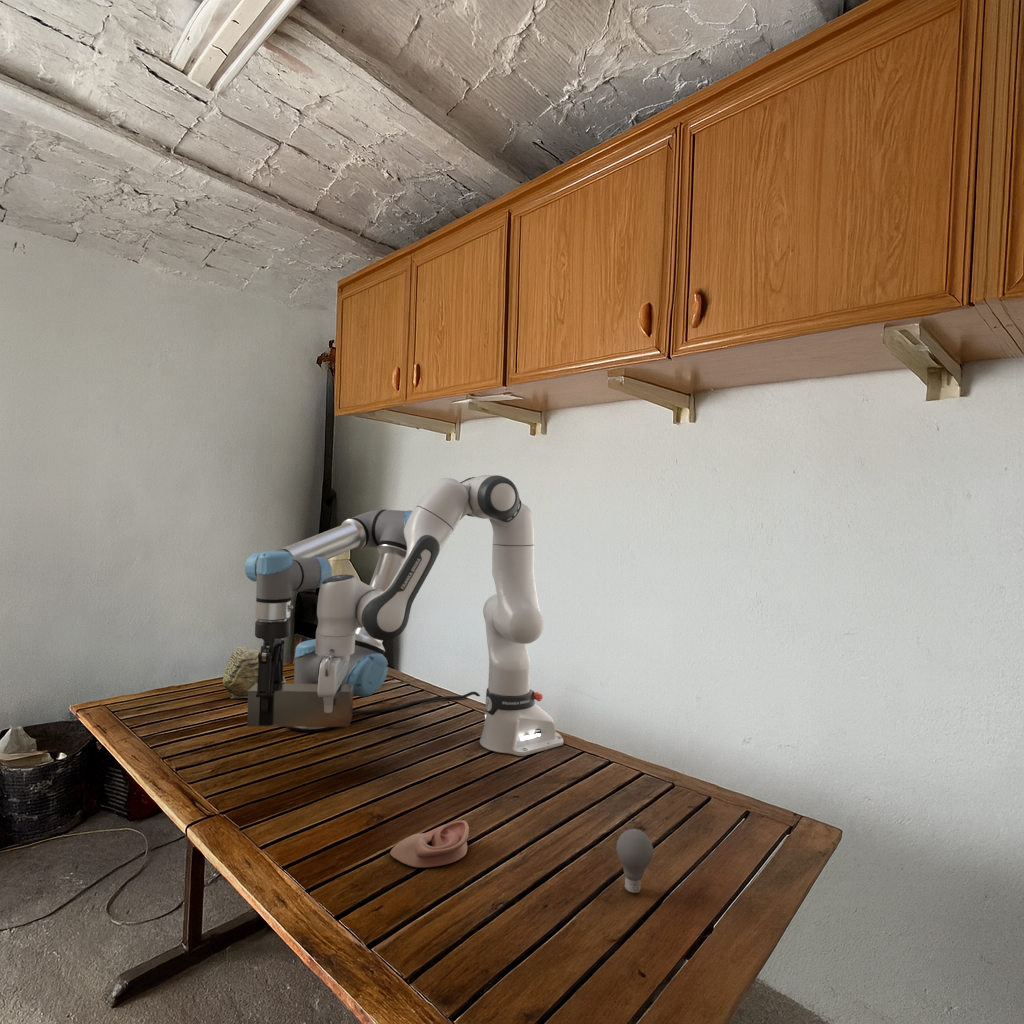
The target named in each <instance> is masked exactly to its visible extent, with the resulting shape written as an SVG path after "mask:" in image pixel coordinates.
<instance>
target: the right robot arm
mask: <svg viewBox="0 0 1024 1024" xmlns="http://www.w3.org/2000/svg"><path fill="white" fill-rule="evenodd" d="M412 511H413V512H412V513H411V515H410V517H409V518H408V521H407V523H406V525H405V528H404V537H405V541H406V544H407V554H406V558H405V560H404V562H403V564H402V565H401V567H400V569H399V571H398V572H397V574H396V576H395V577H394V579H393V581H392V582H391V584H390V586H389V587H388V589H387V590H385V591H383V590H381V589H378V588H374V587H372V586H369V585H370V584H367V583H365V582H363V581H361V580H360V579H358V578H357V577H355V575H352V574H336V575H333V576H332V577H329V578H327V579H325V580H324V581H323V582H322V584H321V586H320V587H319V591H318V597H317V607H316V617H317V627H316V630H315V639H316V642H315V653H316V654H317V655H319V656H321V657H320V660H321V661H322V662H321V664H320V669H319V678H318V696H319V697H323V701H324V712H325V713H331V712H332V711H333V704H334V703H333V697H334V696H335V694H336V692H337V690H338V688H339V687H340V685H341V684H342V681H343V679H344V677H345V676H346V674H347V671H348V666H349V660H350V655H352V654H353V653H354V652H355V632H356V629H357V628H364V629H365V630H366V631H367V633H368V634H369V635H370V636H371V637H373V638H375V639H377V640H383V641H390V640H393V639H395V638H397V637H399V636H400V635H401V634H402V633H403V632H404V631H405V630H406V628H407V625H408V624H409V619H410V614H411V609H412V605H413V604H414V601H415V599H416V598H417V595H418V594H419V592H420V590H421V588H422V586H423V584H424V583H425V581H426V579H427V577H428V576H429V574H430V571H431V570H432V568H433V566H434V565H435V563H436V560H437V558H438V556H439V555H440V553H441V551H442V549H443V548H444V546H445V545H446V543H447V541H448V540H449V539H450V537H451V535H452V534H453V532H454V531H455V529H456V527H458V524H459V522H460V521H461V520H462V519H463V518H464V517H465V516H468V517H472V518H476V519H477V518H478V519H482V520H483V519H485V520H486V519H487V520H489V522H490V524H491V528H492V548H491V549H492V551H491V552H492V553H491V575H492V578H493V581H494V585H495V591H496V593H495V594H493V595H491V596H489V597H488V599H486V600H485V602H484V605H483V608H482V614H483V618H484V623H485V633H486V644H487V651H488V678H487V679H488V680H487V683H488V684H487V688H486V692H485V714H484V724H483V728H482V732H481V736H480V737H479V745H480V746H481V747H482V748H485V749H487V750H489V751H492V752H496V753H501V754H509V755H514V756H519V757H525V756H528V755H533V754H536V753H539V752H543V751H547V750H550V749H554V748H557V747H561V746H563V745H564V743H565V741H564V738H563V736H562V735H561V734H560V733H559V732H557V731H556V725H555V721H554V719H553V717H552V716H551V715H550V714H549V713H548V712H546V711H545V710H544V709H543V708H541V707H540V706H539V705H538V704H537V703H536V701H537V702H541V701H542V700H543V698H544V695H543V694H542V693H540V692H538V691H534V690H532V689H531V671H532V670H531V669H532V668H531V667H532V661H531V657H530V655H529V650H528V645H529V644H532V643H533V642H535V641H537V640H538V639H539V638H540V637H541V635H542V634H543V631H544V628H545V620H544V616H543V614H542V612H541V608H540V604H539V599H538V592H537V586H536V579H535V527H534V519H533V514H532V511H531V509H530V507H529V506H528V505H526V504H524V503H522V500H521V498H520V493H519V491H518V488H517V487H516V485H515V484H514V482H513V481H512V480H511V479H509V478H507V477H505V476H503V475H498V474H497V475H495V474H493V475H492V474H483V475H479V476H472V477H468V478H466V479H464V480H462V481H459V480H457V479H455V478H451V477H443V478H440V479H439V480H437V481H436V482H435V483H434V484H433V485H432V486H431V487H430V488H429V490H427V491H426V492H425V493H424V495H423V496H422V497H421V499H420V500H419V501H418V503H416V505H415V507H414V509H413V510H412Z"/></svg>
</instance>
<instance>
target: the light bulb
mask: <svg viewBox="0 0 1024 1024" xmlns="http://www.w3.org/2000/svg"><path fill="white" fill-rule="evenodd" d="M615 849H616V854H617V857H618V859H619V861H620V863H621V865H622V867H623V873H624V874H623V875H624V876H625V878H624V888H625V890H627V891H628V892H630V893H634V894H635V893H639V892H640V891H641V889H642V887H641V886H642V879H643V877H644V875H645V871H646V868H647V867H648V866H649V864H650V863H651V861H652V859H653V855H654V847H653V843H652V841H651V838H649V836H648V835H647V834H646V833H645V832H643V831H642V830H641V829H636V828H629V829H627V830H625V831H623V832H622V833H621V834H620V835H619V837H618V839H617V841H616V847H615Z"/></svg>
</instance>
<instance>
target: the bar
mask: <svg viewBox="0 0 1024 1024" xmlns="http://www.w3.org/2000/svg"><path fill="white" fill-rule="evenodd" d="M257 686H258V683H255V684H254V685H253V686H252V687H251V688H250V689H249V690H248V698H247V715H246V716H247V718H246V727H252V728H253V727H264V728H265V727H266V728H267V727H269V728H270V727H272V728H273V727H274V728H275V727H278V728H279V727H281V728H282V727H283V728H288V727H335V728H350V724H351V722H352V720H353V714H352V711H353V707H354V706H353V705H354V696H353V684H341V685H340V687H339V688H338V690H337V692H336V694H335V696H334V697H333V703H334V704H333V711H332V712H331V713H325V712H324V701H323V697H319V696H318V684H294V683H286V684H273V688H272V696H273V717H272V725H271V726H259V708H260V697H256V694H257Z"/></svg>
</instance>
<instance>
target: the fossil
mask: <svg viewBox="0 0 1024 1024" xmlns="http://www.w3.org/2000/svg"><path fill="white" fill-rule="evenodd" d="M259 652H261V647H258V648H251V647H247V646H246V647H245V646H238V647H237V648H236V649H235V650H233V651H232V653H231V656H230V657H229V659H228V660H227V663H226V666H225V668H224V671H223V675H222V676H223V677H222V685H223V687H224V688H225V690H226V691H228V693H229V698H230V699H248V690H249V689H250V688H251V687H252V686H253V685H254V684H255V683H258V665H259V662H258V654H259ZM281 682H284V684H287V680H286V678H285V676H284V675H283V681H281Z"/></svg>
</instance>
